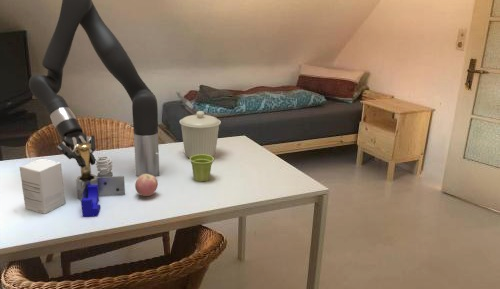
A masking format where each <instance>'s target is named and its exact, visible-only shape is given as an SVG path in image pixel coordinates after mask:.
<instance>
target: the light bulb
mask: <svg viewBox="0 0 500 289" xmlns="http://www.w3.org/2000/svg"><path fill="white" fill-rule="evenodd" d="M112 160H113V159H112V157H110V156H108V155H100V156H98V159H96V161H95V165H96V166H95V167H96V171H97V172H98V173H97V174H96V175H97V176H98V177H110V176H113V172H112V170H113V161H112Z"/></svg>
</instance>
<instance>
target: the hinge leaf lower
mask: <svg viewBox="0 0 500 289" xmlns="http://www.w3.org/2000/svg"><path fill="white" fill-rule="evenodd" d="M76 192H77V193H76V194H77V199H78V200H80V201H81V200H82V198H88V189H87V182H86V181H85V182H84V184H83V187H82V190H81V191H80V190H77V189H76ZM80 205H81V207H82V204H81V203H80Z"/></svg>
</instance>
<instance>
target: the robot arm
mask: <svg viewBox="0 0 500 289" xmlns="http://www.w3.org/2000/svg"><path fill="white" fill-rule="evenodd" d="M79 25H80V26H81V28H82V29H83V30H84V32H85V34H86V35H87V37H88V40H89V42H90V45H91V46H92V48H93V50H94V51H95V53H96V55H97V57H98V58H99V60H100V61H101V63H102V64H103V66H104V67H105V68H106V69H107V71H109V73H110V74H111V75H112V76H113V77H114V78H115V79H116V80H117V81H118V83H120V85H121V86H122V87H123V88H124V89H125V91H126V93H127V95H128V96H129V98H130V100H131V102H132V105H131V106H132V107H131V108H132V111H131V112H132V126H133V128H132V129H133V146H134V147H133V148H134V162H135V165H134V166H135V169H134V170H135V175H136V176H137V177H139V176H140V175H142V174H150V175H153V176H154V177H157V176H160V156H159V155H160V154H159V149H160V148H159V116H158V115H159V114H158V112H159V110H158V101H157V97H156V96H155V93H154V92H152V90H151V89H150V88H149V87H148V85H147V84H146V83H145V82H144V81H143V78H141V76H140V75H139V73H138V71H137V70H136V67H135V65H134V64H133V61H132V60H131V58H130V56H129V55H128V53H127V51H126V50H125V49H124V47H123V46H122V44H121V42H120V41H119V39H118V38H117V37H116V35H115V34H114V32H113V31H111V30H110V28H109V27H108V26H107V24H106V23H105V22H104V21H103V19H102V17H101V16H100V14H99V12H98V10H97V8H96V6H95V4H94V2H93V1H92V0H62V1H61V7H60V12H59V16H58V20H57V23H56V26H55V28H54V32H53V34H52V37H51V38H50V41H49V43H48V46H47V48H46V51H45V54H44V57H43V58H42V63H41V65H42V67H43V68H45V69H46V70H47V75H45V74H41V73H38V74H33V75H32V76H31V77H30V78H29V80H28V87H29V90H30V92H31V94H32V95H33V96H34V98H36V100H37V101H38V102H39V103H40V104H41V105H42V106H43V107H44V108H45V110H46V112H47V114H48V116H49V117H50V120H51V123H52V125H53V127H54V128H55V130H56V132H57V133H58V136H59V137H60V139H61V142H60V143H58V145H57V146H56V149H57V150H58V151H59V152H61V153H62V154H63V155H64V156H65V157H66V158H68V159H69V160H71V159H74V160H75V161H76V163H77V165H78V167H80V169H81V168H84V167H85V166H86V164H85V162H84V160H83V158H82V156H80V153H79V149H77V144H79V143H91V148H90V149H89V152H90V166H93V165H96V160H97V159H96V157H95V155H94V154H93V153H94V152H95V150H96V149H97V148H96V139H95V138H96V137H95V135H92V134H91V136H88V135H87V134H85V133H84V131H83V129H82V126H81V125H80V122H79V121H78V119H77V117H76V116H75V114H74V112H73V111H72V110H71V109H70V106H69V105H68V103H67V101H66V100H65V98H64V97H63V96H61V95H59V94H58V93H59V92H60V90H61V88H62V83H63V77H64V76H63V75H64V73H63V72H64V67H65V65H66V63H67V60H68V58H69V54H70V51H71V48H72V44H73V41H74V38H75V35H76V31H77V29H78V28H79Z"/></svg>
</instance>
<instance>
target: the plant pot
mask: <svg viewBox="0 0 500 289" xmlns="http://www.w3.org/2000/svg"><path fill="white" fill-rule="evenodd" d="M214 160H215V159H214V156H213V157H212V156H210V155H204V154H199V155H194V156H191V157H190V158H189V161H190V164H191V168H192V175H193V180H194V181H196V182H199V183H201V182H208V181H209V180H210V176H211V170H212V164H213V162H214Z"/></svg>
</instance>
